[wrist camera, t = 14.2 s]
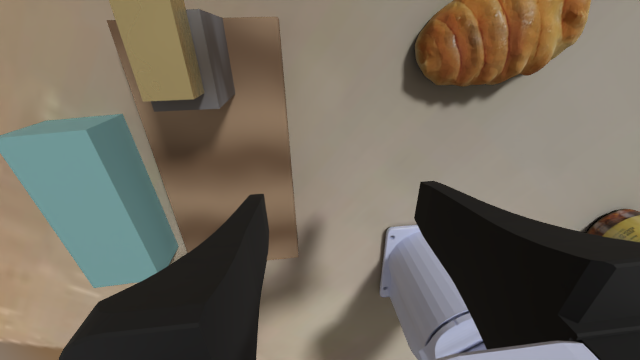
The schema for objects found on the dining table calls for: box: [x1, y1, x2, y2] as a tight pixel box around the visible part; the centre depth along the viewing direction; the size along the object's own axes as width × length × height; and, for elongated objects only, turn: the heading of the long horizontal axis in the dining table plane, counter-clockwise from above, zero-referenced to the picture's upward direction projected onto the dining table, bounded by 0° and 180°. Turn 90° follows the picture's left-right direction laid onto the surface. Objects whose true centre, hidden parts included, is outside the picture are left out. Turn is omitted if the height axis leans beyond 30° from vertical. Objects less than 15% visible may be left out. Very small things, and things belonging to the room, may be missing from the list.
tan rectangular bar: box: [109, 0, 204, 102], centre depth 10 cm, size 6×2×2 cm, turn 1°
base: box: [107, 9, 298, 260], centre depth 17 cm, size 18×9×6 cm, turn 2°
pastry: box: [415, 0, 591, 86], centre depth 16 cm, size 9×7×4 cm
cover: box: [0, 114, 179, 288], centre depth 19 cm, size 12×5×4 cm, turn 4°
